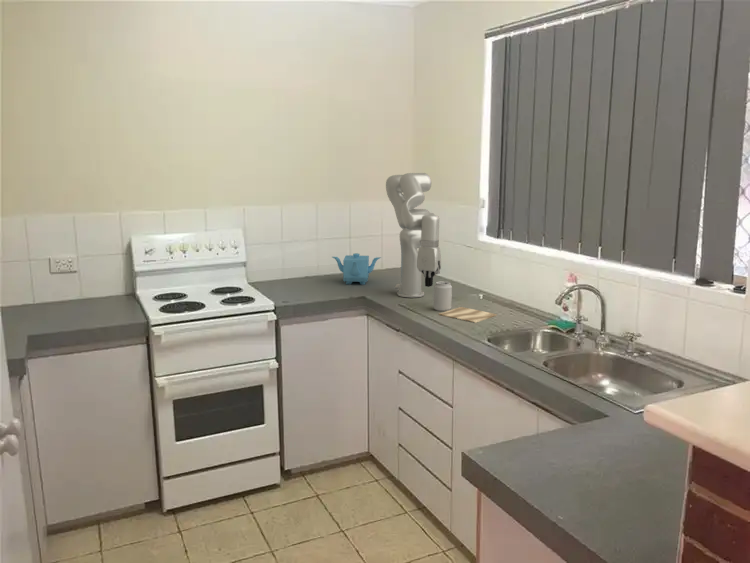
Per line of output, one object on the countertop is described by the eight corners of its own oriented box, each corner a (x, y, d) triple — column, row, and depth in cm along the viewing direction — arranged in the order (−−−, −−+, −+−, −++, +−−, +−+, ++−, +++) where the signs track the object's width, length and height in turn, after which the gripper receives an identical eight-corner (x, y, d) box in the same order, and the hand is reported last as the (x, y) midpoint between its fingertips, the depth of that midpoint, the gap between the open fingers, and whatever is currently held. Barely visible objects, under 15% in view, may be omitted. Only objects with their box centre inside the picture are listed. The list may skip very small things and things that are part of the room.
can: (450, 312, 282) (451, 284, 280) (432, 311, 284) (433, 283, 281) (451, 308, 289) (452, 280, 287) (434, 307, 291) (435, 280, 288)
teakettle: (357, 277, 352) (357, 249, 349) (382, 282, 339) (382, 254, 336) (329, 282, 339) (329, 253, 336) (354, 288, 326) (354, 258, 323)
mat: (438, 314, 278) (438, 313, 278) (460, 307, 290) (460, 306, 290) (475, 322, 266) (475, 321, 266) (496, 315, 278) (496, 314, 278)
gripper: (410, 243, 288) (409, 284, 292) (438, 246, 278) (437, 290, 282) (421, 241, 293) (420, 282, 297) (449, 244, 284) (448, 287, 287)
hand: (428, 286), depth 289 cm, fingers closed
